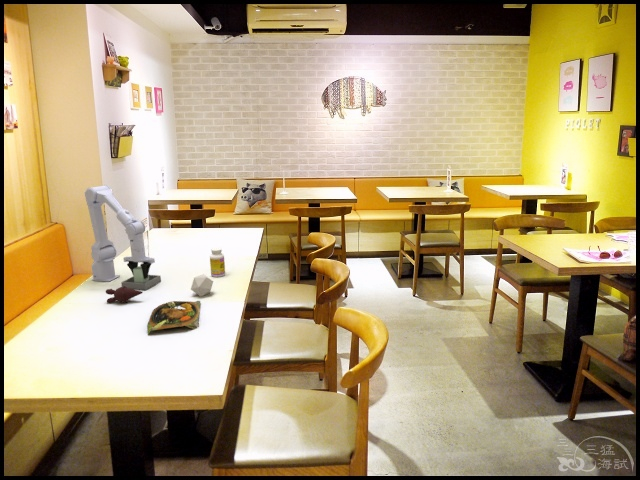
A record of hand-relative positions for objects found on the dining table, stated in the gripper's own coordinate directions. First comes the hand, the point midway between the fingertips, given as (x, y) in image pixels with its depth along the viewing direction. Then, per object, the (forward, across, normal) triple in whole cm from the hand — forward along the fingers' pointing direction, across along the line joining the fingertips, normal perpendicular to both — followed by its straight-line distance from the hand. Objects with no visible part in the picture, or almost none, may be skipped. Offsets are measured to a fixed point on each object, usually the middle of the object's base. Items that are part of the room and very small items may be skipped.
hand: (141, 277), depth 221 cm
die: (+4, -33, +5) cm, 34 cm away
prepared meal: (+4, -35, +30) cm, 46 cm away
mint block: (+2, 0, 0) cm, 2 cm away
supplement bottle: (+4, -28, -20) cm, 35 cm away
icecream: (+4, -5, +20) cm, 21 cm away
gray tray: (+4, 0, 0) cm, 4 cm away
